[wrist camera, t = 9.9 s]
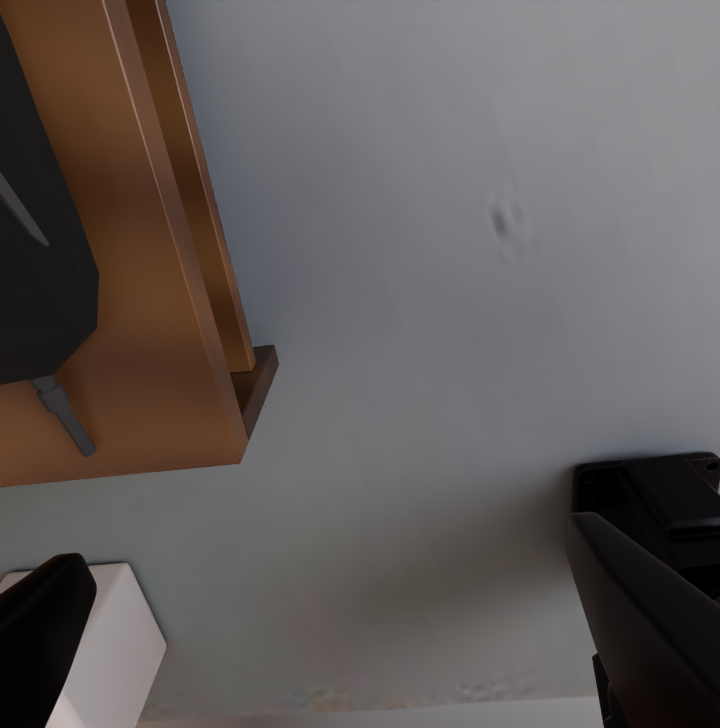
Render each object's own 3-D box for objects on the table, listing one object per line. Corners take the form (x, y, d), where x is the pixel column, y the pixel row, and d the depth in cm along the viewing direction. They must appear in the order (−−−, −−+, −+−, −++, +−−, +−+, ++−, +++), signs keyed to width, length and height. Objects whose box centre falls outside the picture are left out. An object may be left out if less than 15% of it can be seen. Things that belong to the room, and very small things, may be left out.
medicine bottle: (58, 652, 31) (-113, 942, 20) (7, 569, 28) (-229, 858, 17) (170, 644, 30) (56, 938, 19) (130, 558, 27) (-32, 850, 16)
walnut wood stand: (279, 365, 22) (240, 464, 15) (62, 390, 22) (-59, 494, 16) (157, -161, 14) (-10, -383, 8) (-157, -97, 15) (-533, -253, 9)
